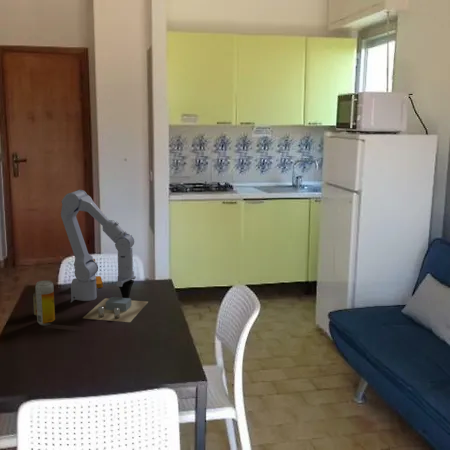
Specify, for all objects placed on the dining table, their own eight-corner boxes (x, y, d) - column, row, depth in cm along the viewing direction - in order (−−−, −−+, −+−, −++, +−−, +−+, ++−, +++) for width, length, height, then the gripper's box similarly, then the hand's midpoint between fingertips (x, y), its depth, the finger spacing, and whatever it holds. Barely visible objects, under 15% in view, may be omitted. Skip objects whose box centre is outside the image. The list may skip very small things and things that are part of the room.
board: (82, 321, 205) (82, 318, 205) (105, 301, 226) (105, 298, 226) (130, 325, 202) (130, 322, 202) (148, 304, 224) (148, 301, 223)
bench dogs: (97, 317, 206) (97, 308, 205) (99, 315, 208) (99, 306, 207) (118, 319, 205) (118, 309, 204) (120, 317, 207) (120, 307, 206)
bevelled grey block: (105, 309, 214) (105, 302, 213) (111, 304, 220) (111, 296, 219) (126, 311, 213) (125, 303, 212) (131, 305, 218) (131, 298, 218)
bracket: (103, 289, 241) (102, 262, 238) (85, 290, 239) (84, 263, 236) (100, 281, 251) (99, 255, 248) (83, 283, 249) (82, 256, 246)
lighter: (32, 315, 210) (31, 290, 207) (35, 312, 213) (33, 286, 211) (52, 315, 210) (51, 289, 208) (54, 311, 214) (53, 286, 212)
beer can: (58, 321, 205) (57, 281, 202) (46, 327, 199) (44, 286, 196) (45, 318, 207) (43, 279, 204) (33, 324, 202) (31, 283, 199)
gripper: (129, 271, 213) (129, 305, 216) (140, 261, 227) (141, 293, 230) (111, 270, 214) (111, 304, 217) (124, 260, 228) (124, 292, 231)
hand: (125, 298), depth 224 cm, fingers closed
